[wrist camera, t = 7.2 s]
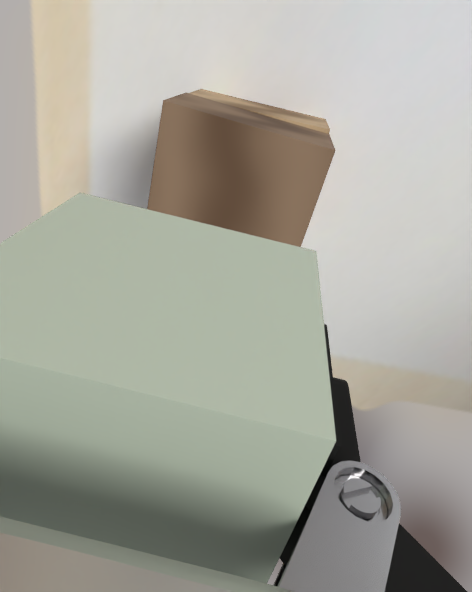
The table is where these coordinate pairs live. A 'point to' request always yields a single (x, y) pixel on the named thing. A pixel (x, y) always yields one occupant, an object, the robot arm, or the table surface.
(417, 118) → the table surface
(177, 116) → the walnut slab
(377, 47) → the table surface
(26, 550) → the robot arm
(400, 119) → the table surface
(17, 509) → the sage cube
